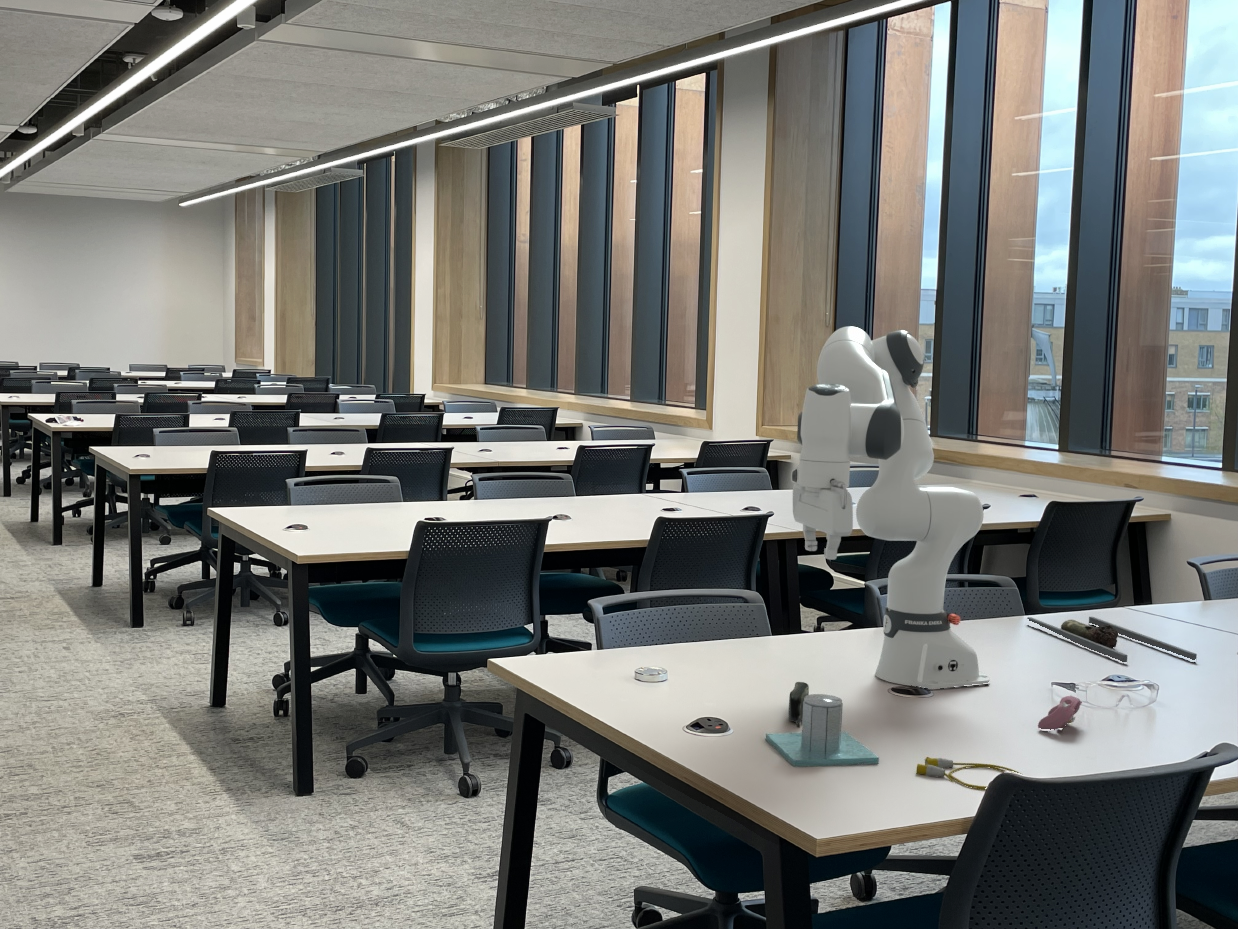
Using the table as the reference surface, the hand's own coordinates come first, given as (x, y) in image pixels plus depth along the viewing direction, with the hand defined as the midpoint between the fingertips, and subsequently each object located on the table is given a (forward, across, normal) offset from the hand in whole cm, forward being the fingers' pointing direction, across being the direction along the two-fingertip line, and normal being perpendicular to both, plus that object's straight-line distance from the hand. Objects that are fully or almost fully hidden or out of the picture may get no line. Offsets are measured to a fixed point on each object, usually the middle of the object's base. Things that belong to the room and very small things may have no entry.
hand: (820, 554), depth 219 cm
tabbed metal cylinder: (+28, -18, +5) cm, 34 cm away
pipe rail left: (+29, +52, -84) cm, 103 cm away
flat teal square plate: (+29, -20, +6) cm, 36 cm away
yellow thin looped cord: (+30, -34, -13) cm, 47 cm away
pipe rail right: (+29, +52, -101) cm, 117 cm away
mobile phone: (+29, 0, +3) cm, 30 cm away
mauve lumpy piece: (+29, -11, -42) cm, 52 cm away
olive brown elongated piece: (+30, +50, -88) cm, 105 cm away
